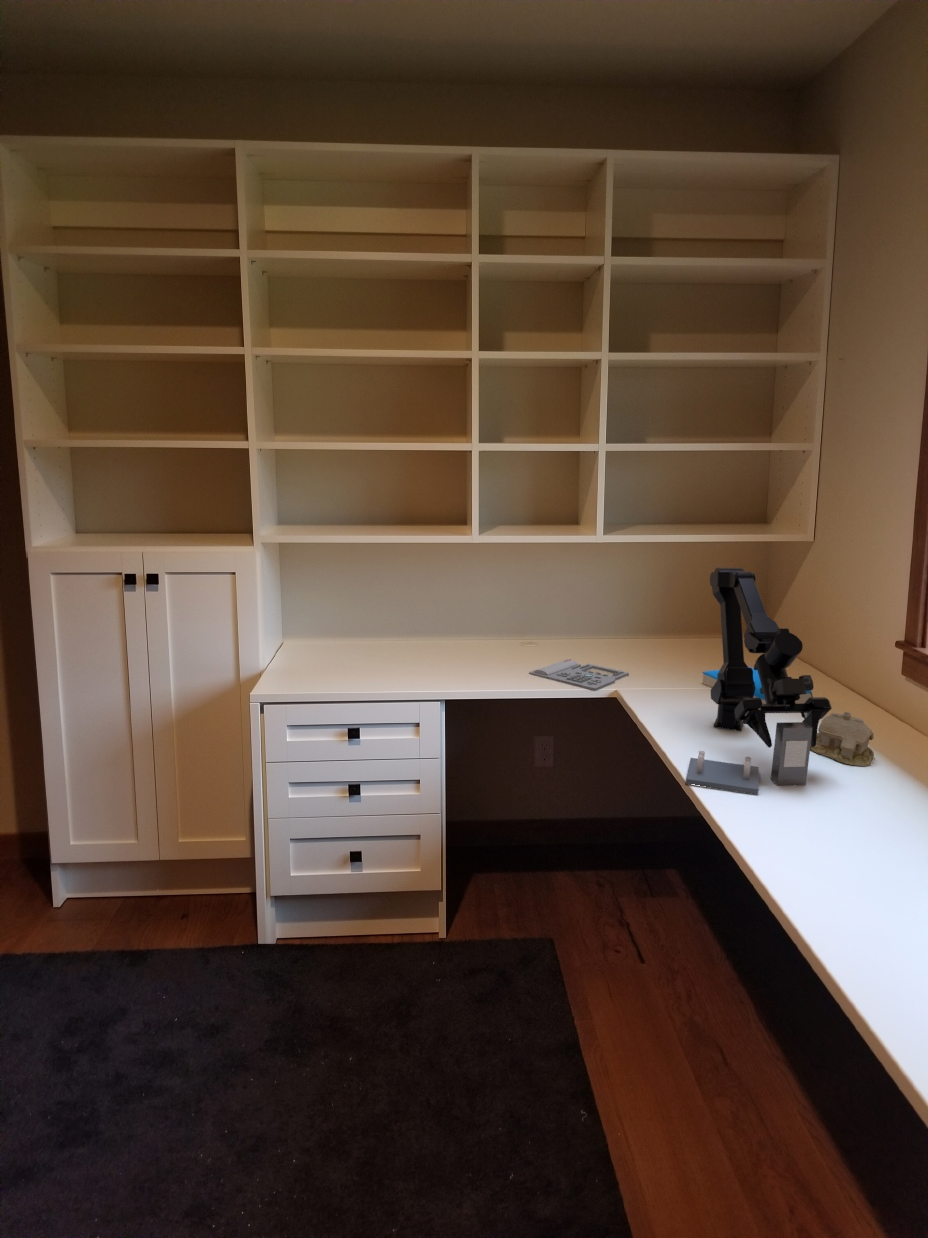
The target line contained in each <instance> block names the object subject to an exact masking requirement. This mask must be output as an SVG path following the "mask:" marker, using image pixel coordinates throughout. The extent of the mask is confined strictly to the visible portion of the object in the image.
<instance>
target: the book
mask: <svg viewBox="0 0 928 1238" xmlns="http://www.w3.org/2000/svg"><path fill="white" fill-rule="evenodd" d="M748 667H749V668H752V670H753V681H754V683H755V687H756V688H755V693H754V696H753V698H760V699H761V700H762V704H766V702H765V698H764V694H761V693H760V688H761V687H762V686H761V682H760V678H759V674H758V670H754V667H751V666H748ZM719 670H720V669H715V670H706V671H702V674H703V675H702V676H703V677H702V684H704V685H705V686H708V687H710V688H712V687H713V686H714V684H715V683H716V682H717V674H718V672H719ZM812 691H813V690H811V691H806V694H801V695H800V699H799V700H796V701H795V703H796V704H804V703H805V702H806V701H807V700H808V699H809V698H810V697H814V696H813V692H812Z"/></svg>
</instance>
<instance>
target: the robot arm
mask: <svg viewBox="0 0 928 1238" xmlns="http://www.w3.org/2000/svg"><path fill="white" fill-rule="evenodd" d="M709 585H710V586H711V592H712V595H713V597H714V598H715V599H716V601H717V602H718V603H719V607H720V624H721V639H722V640H721V641H722V654H723V655H722V657H723V660H722V661H723V663H722V665H721V667H720V669H718V670H719V672H718V674H717V682H716V683H715V684H714V686H713V687H711V689H710V699H711V700H712V701H713V703H715V704H716V705H717V712H716V713H717V715H716V718H715V720H714V722H713V724H712V725H713V728H718V729H724V730H732V731H739V732H741V731H742V729H743V727H744V725H746V726H748V727H749V728H750V729H751V730H752V731H754V732H755V734H756V735H757V736H758V738H760V739H761V741H762V742H763V743H764V744H765V745H766V747H767V748H768V749H770V748H771V747H772V746H773V743H772V737H771V734H770V731H769V728H768V724H767V721H766V714H800V715H801V717H802V719H803V720H802V722H805V723H807V724H808V725H809V726H811V727H812V736H811V746H812V747H815V746H816V738H817V733H818V730H819V722H820V720H823V719H824V717H826V716H827V714H828V713H829V712H830V711H831V710H832V705H831V702H830V699H828V698H827V697H823V696H821V697H820V696H819V697H815V696H813V697H810V698H809V699H808V700H807V701H806V702H805V703H804V704H796V703H795V701H796V700H799V699H800V695H801V694H806V691H813V690H814V686H815V685H814V681H813V679H812V675H810V674H802V675H800V676H798V678H793V677H792V676H789V674H788V672H787V668H788V667H790V666H791V665H792V664H793V663H794V661H795V660H796V659H797V657H798V656H800V654H801V652H802V650H803V646H804V645H803V642H802V640H801V639H800V638H799V637H798V636H797V635H795V634H793V633H792V632H790V630H789V628H788V627H787V628H784V627H783V628H780V627H779V625H778V623H777V622H776V621H775V620H773V619H772V618H771V617H769V616H768V614H767V611H766V609H765V605H764V603H763V600H762V597H761V595H760V592H759V590H758V587H757V584H756V575H755V573H754V572H751V571H746V570H744V569H743V568H742V567H716V568H715V569H714V571H713V572H711V573H710V575H709ZM742 616H743V619H744V622H745V625H746V628H745V631H744V633H743V622H742ZM743 638H744V639H743ZM744 647H745V648H746V650H747V651H748V653H749V654H761V655H760V656H758V658H757V657H756V660H755V663H754V664H753V667H751V668H749V667H750V666H748V665H747V663H746V662H745V654H744V653H745V652H744ZM752 668H754V670H758V674H759V678H760V682H761V686H762V687H761V688H760V693H761V694H764V698H765V702H766V704H762V700H761V699H760V698H753V696H754V693H755V688H756V687H755V683H754V681H753V670H752Z"/></svg>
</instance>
